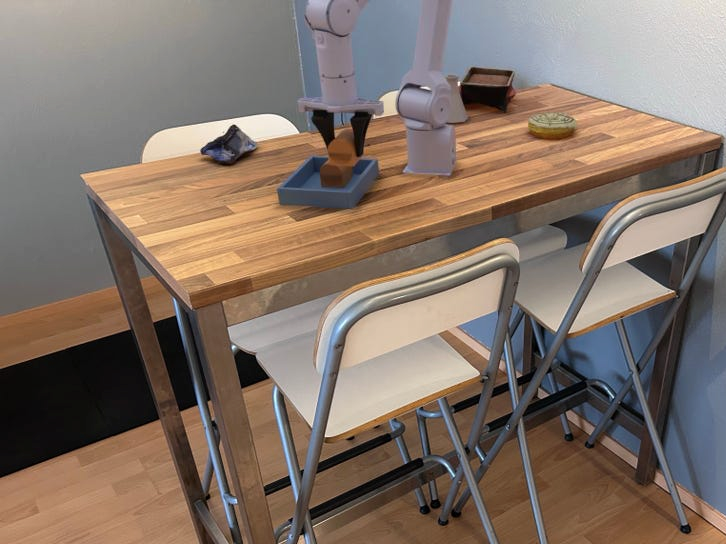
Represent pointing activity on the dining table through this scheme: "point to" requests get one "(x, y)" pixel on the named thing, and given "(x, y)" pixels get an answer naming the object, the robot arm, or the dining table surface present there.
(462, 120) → the flask
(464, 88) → the square planter pot
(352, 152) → the bread roll
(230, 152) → the snack package
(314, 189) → the tray
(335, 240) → the dining table surface
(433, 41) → the robot arm
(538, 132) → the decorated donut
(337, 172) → the cylinder
